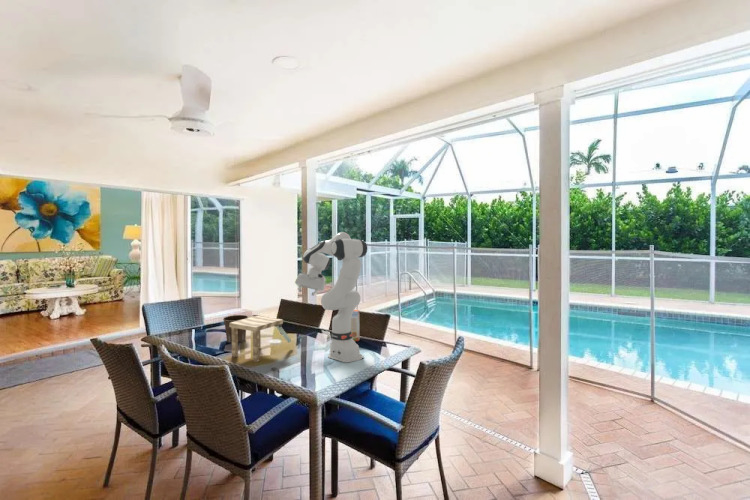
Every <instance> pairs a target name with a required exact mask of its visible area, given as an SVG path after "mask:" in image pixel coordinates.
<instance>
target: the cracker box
mask: <svg viewBox="0 0 750 500" xmlns="http://www.w3.org/2000/svg"><path fill="white" fill-rule="evenodd" d="M338 312H339V310H337V313H338ZM360 327H361V326H360V310H359V309H354V311H353V313H352V316H351V324H350V331H351V333H352V334H353V335H352V339H353V340H354V341H355V342H359V341H360V334H361V333H360V329H361V328H360Z"/></svg>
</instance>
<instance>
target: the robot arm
mask: <svg viewBox="0 0 750 500" xmlns="http://www.w3.org/2000/svg"><path fill="white" fill-rule="evenodd" d="M367 252H368V245H367V242H366V241H364V240H361V239H355V238H351V236H350V235H349V234H348V233H347V232H345V231H341V232H338V233H337V234H335V235H333V237H331V239H328V240H322V241H320V242H318V243H316V244H314V245H313V246H311V247H310V248H308V249H306V251H305V252H304V253H303V256H302V259H303V262H304V264H305V263H306V264H308V265H310V267H309V268H308V270H307V272H306V273H305V272H300V273H298V275H297V277H296V279H295V281H294V283H295V285H296V286H298V293H302V291H303V290H302V287H303V288H306V289H311V290H314V291H313V292H311V296H313V297H314V296H315V295H316V293H318V292H324V291H325V286H326V282H327V279H326V277H325V275H323V274H322V271H326V270H329V268H330V265H331V263H332V262H331V258H330V257H329V256H331V257H332V256H333V257H335V258H336V259H337V261H342V265H341V269H340V271H339V274H338V276H337V280H336V282H335V284H333V286H332V287H331V288H330V289H329V290H328V291H327V292H326V293H324V294H322V296H321V298H320V304H321V306H322V308H323V309H324V310H326V311H337V314H335V315H334V316H333V317H332V320H331V322H332V323H331V329H332V330H331V341H330V346H329V354H328V355H327V357H328V358H329V359H332V360H335V361H340V362H341V363H342V362H343V363H352V362H358V361H360V360H363V359H364V357H365V355H363V354H362V353H360V352H361V350H360V346H359V344H357V343H356V341H354V340H353V339H352V335H353V334H352V333H351V331H350V324H351V316H352V313H353V311H354V310H356V308H357V307H358V305H360V303H361V295H360V293H359V292H358V291H357V290H354V289H355V288H356V286H357V285H356V284H357V282H358V279H359V276H360V273H361V267H362V260H361V258H363V257H365V256H366V255H367ZM327 255H328V256H327ZM338 311H339V312H338ZM362 358H363V359H362Z"/></svg>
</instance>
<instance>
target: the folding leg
mask: <svg viewBox="0 0 750 500" xmlns="http://www.w3.org/2000/svg"><path fill="white" fill-rule="evenodd" d="M275 328H276V329H277V330H278V332H280V334H281V335H282V337H283V338H284V340H285V341H286V342H287V343H291V342H292V339H291V338H290V336H289V335H288V334H287V332H286V331H285V330H284V328H283V327H279V325H276V327H275Z"/></svg>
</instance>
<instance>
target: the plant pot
mask: <svg viewBox="0 0 750 500" xmlns="http://www.w3.org/2000/svg"><path fill="white" fill-rule="evenodd" d="M247 318H249V316H248V315H246V314H235V315H228V316H225V317H223V318H222V320H223V325H224V329H225V334H226V342H227V343H230V344H232V328H231V327H229V323H231V322H235V321H239V320H243V319H247ZM246 334H247V330H243V329H238V343H242V342H244V341H246V336H247V335H246Z"/></svg>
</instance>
